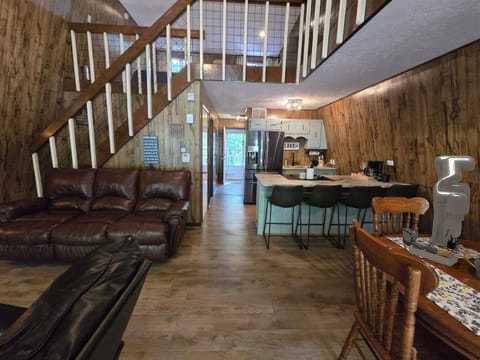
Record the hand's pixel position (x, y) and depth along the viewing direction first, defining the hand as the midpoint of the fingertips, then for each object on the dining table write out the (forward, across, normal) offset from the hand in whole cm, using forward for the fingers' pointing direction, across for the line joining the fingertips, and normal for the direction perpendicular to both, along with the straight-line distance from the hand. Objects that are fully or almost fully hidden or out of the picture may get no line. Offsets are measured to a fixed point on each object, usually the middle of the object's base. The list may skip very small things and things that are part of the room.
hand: (451, 248), depth 124 cm
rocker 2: (+5, -1, -9) cm, 11 cm away
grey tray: (+9, -3, -9) cm, 13 cm away
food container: (+9, -13, -24) cm, 29 cm away
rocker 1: (+5, -1, -16) cm, 17 cm away
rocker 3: (+5, -1, -2) cm, 6 cm away
